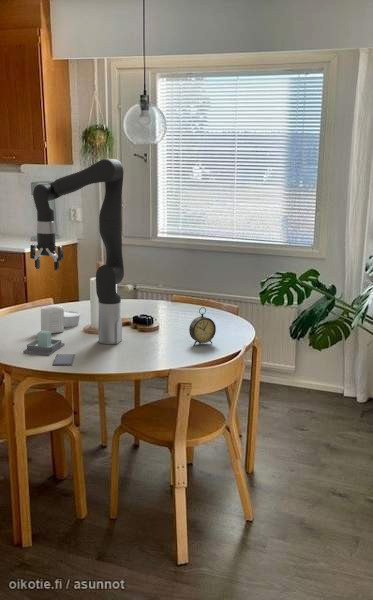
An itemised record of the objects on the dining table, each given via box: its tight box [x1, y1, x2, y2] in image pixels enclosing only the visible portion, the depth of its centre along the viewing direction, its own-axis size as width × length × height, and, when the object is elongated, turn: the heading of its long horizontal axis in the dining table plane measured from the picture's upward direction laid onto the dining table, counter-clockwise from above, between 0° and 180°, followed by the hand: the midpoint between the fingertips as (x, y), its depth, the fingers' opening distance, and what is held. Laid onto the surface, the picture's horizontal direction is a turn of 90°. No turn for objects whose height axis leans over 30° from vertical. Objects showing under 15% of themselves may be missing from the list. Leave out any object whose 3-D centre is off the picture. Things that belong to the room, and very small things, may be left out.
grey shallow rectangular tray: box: [22, 337, 66, 356], centre depth 236 cm, size 11×14×3 cm
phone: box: [52, 353, 76, 367], centre depth 224 cm, size 7×12×1 cm, turn 5°
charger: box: [37, 330, 52, 347], centre depth 236 cm, size 4×4×6 cm
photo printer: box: [40, 304, 65, 334], centre depth 258 cm, size 10×4×12 cm, turn 123°
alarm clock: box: [188, 306, 217, 347], centre depth 248 cm, size 11×5×16 cm, turn 117°
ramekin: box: [64, 310, 81, 328], centre depth 271 cm, size 11×11×5 cm
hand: (46, 269), depth 253 cm, fingers open, 8 cm apart
